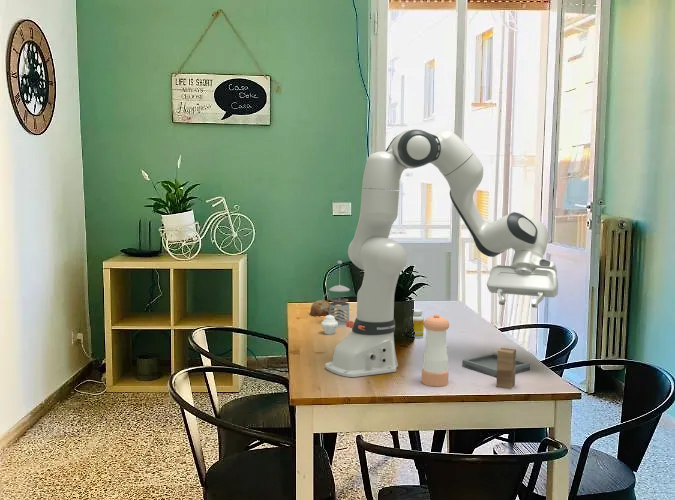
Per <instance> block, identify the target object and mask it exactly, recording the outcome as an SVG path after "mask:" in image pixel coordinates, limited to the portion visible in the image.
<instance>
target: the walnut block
mask: <svg viewBox="0 0 675 500" xmlns="http://www.w3.org/2000/svg"><path fill="white" fill-rule="evenodd" d="M496 354H497V377H496V387H497V388H502V389H509V390H512V389H513V387H515V386H514V385H516V374H515V368H516V360H517V349H515V348H508V347H507V348H506V347H500V348H498V350H497V353H496Z"/></svg>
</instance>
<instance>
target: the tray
mask: <svg viewBox="0 0 675 500" xmlns="http://www.w3.org/2000/svg"><path fill="white" fill-rule="evenodd" d="M461 363H462V364H461V366H462V367H464V368H466V369H468V370H469V369H470V370H472V371H475V372H478V373H482V374H484V375H488V376H491V377H494V378H497V353H494V352H492V353H488V354H483V355H479V356H474V357H470V358H466V359H465V358H464V359H462V362H461ZM527 371H531V363H529V362H526V361H522V360H519V359H516V368H515V375H516V374H520V373H523V372H527Z"/></svg>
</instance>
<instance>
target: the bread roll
mask: <svg viewBox="0 0 675 500" xmlns="http://www.w3.org/2000/svg"><path fill="white" fill-rule="evenodd" d="M330 303H331V301H328V300H325V299H323V304H324V306H322V299H319V300H316V301H315V302H313V303H312V304H311V306H310V313H309V315H311V316H313V317H316V316H327V315H329V312H327V311H328V310H329V304H330ZM323 307H325V308H326V309H327V311H326V309H325V308H323Z"/></svg>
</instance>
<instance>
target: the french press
mask: <svg viewBox="0 0 675 500" xmlns="http://www.w3.org/2000/svg"><path fill="white" fill-rule="evenodd" d="M336 264H337V265H338V264H339V269H338V271H339V273H338V274H339V275H338V276H339V278H338V279H339V280H338V281H339V282H338V285H334V286H332V287H330V288H329V289H328V290H329V292H326V293H325V294H324V295H323V296H322V299H321V300H322V306H324V304H323V300H325V299H324V298H325V297H326V295H328V297H331V292H333V293H338V298H336V297H334V298H330V299H329V300H330V301H329V302H330V304H329V310H328V311H327V309H326V308H325V307H323V308H325V309H326V311H327V312H329V315H332V316H334V317H335V320H336V321H337V322H338V326H337V328H347V327H346V321H348V320H349V321H350V303H349V301H350V300H349V298H341V297H340V296H341V295H340V294H341V293H348V292H350V288H348V287H347V286H344V285H341V284H340V283H341V281H340V280H341V264H343V261H342V260H337V262H336Z"/></svg>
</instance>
